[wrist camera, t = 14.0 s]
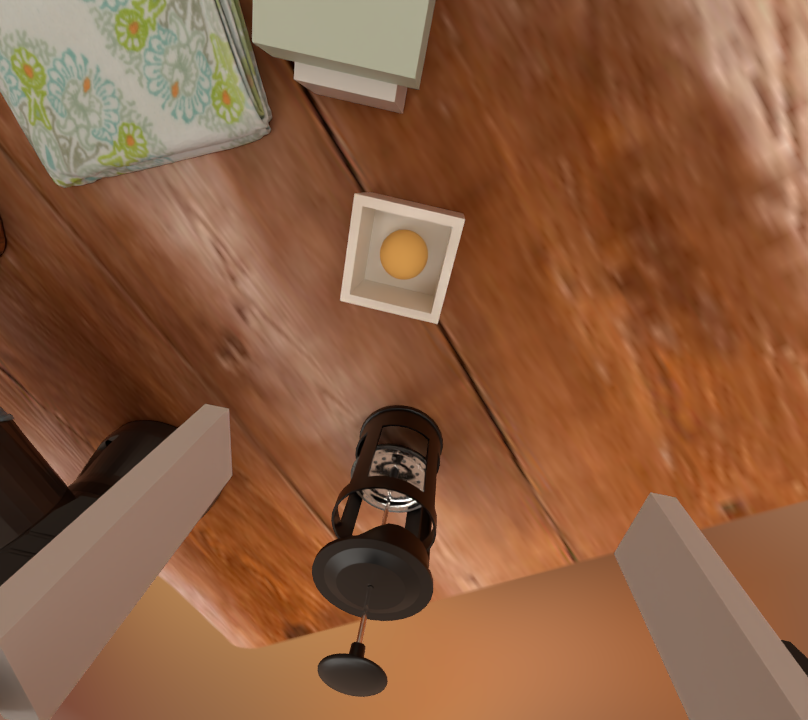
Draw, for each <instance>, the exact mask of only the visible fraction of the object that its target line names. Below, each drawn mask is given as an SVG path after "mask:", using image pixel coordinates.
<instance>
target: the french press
mask: <svg viewBox="0 0 808 720" xmlns="http://www.w3.org/2000/svg"><path fill="white" fill-rule="evenodd" d="M387 426H400V427H405V428H409V429H412V430H414V431H416V432H418V433H420V434H422V435H423V436H424V437H425V438H427V439H428V447H427V457H426V458H425V457H424V456H423V455H421V454H420V453H418V452H417V451H415V450H413V449H411V448H408V447H406V446H402V445H398V444H379V445H378V442H379V438H380V435H381V432H382V428H383V427H387ZM442 448H443V439H442V435H441V432H440V430H439V428H438V426H437V425H436V423H435V422H434V421H433V420H432V419H431V418H430V417H429V416H428V415H427V414H425V413H423V412H421V411H420V410H417V409H415V408H412V407H407V406H388V407H385V408H382V409H379V410H377V411H376V412H374V413H372V414H371V415H370V416H369V417H368V418H367V419H366V421H365V422H364V424H363V426H362V429H361V431H360V440H359V442H358V445H357V448H356V461H355V462H354V464H353V466H352V469H351V482H350V484H348V485H347V486H346V487H345V488H344V489H343V490H342V491H341V493H340V494H339V496H338V499H337V501H336V504H335V507H334V509H333V512H332V520H331V521H332V527H333V530H334V532H335V534H336V536H337V537H338V539H336V540H334V541H332V542H330V543H328V544H327V545H325V546H324V547H323V548H322V549H321V550H320V551H319V552H318V554H317V555H316V558H315V560H314V563H313V566H312V575H313V580H314V583H315V585H316V587H317V589H318V590H319V591H320V593H321V594H322V595H323V596H324V597H325V598H326V599H327V600H328V601H329V602H330V603H332V604H333V605H335V606H336V607H338V608H339V609H341V610H343V611H345V612H347V613H349V614H352V615H355V616H358V617H361V622H360V628H359V632H358V637H357V641H356V642H354V643H352V644H351V648H350V652H349V654H333V655H329V656H327V657H325V658H323V659H322V660H321V661H320V663H319V665H318V674H319V676H320V678H321V679H322V680H323V681H324V683H325V684H327V685H328V686H329V687H331V688H332V689H334V690H336V691H338V692H341V693H344V694H347V695H351V696H360V697H362V696H363V697H365V696H371V695H375V694H378V693H380V692H381V691H383V690H384V689H385V687H386V685H387V676H386V674H385V672H384V671H383V669H382V668H381V667H380V666H378V665H377V664H376V663H374V662H373V661H371V660H368V659H366V658H364V653H365V646H364V644H362V640H363V635H364V630H365V625H366V621H367V619H370V620H380V621H390V620H391V621H392V620H399V619H404V618H407V617H410V616H413V615H415V614H416V613H418V612H420V611H421V610H422V609H423V608H425V607H426V606H427V604H428V603H429V601H430V600H431V597H432V594H433V578H432V575H431V572H430V570H429V557H430V548H431V546H432V545H433V543H434V541H435V537H436V526H437V515H436V511H435V491H436V475H437V473H438V470H439V466H440V455H441V452H442ZM348 495H349V497H348V500H347V503H346V506H345V509H344V512H343V515H342V518H341V520H340V517H339V514H338V505H339V503H340V502H341V501H342V500H343V499H344V498H346V497H347V496H348ZM362 499H363V500H364V501H366V502H367V503H368V504H370V505H372V506H374V507H376V508H378V509H381V510H384V515H383V520H382V525H381V526H378V527H375V528H373V529H371V530H369V531H367V532H365V533H362V534H360V535H356V536H353V535H352V533H353V529H354V526H355V523H356V519H357V516H358V512H359V509H360V505H361V502H362ZM388 512H398V513H400V512H407V517H406V524H405V528H403V527H401V526H399V525H394V524H389V523H388V524H386V521H387V517H388ZM432 523H433V529H432V531H431V527H432Z"/></svg>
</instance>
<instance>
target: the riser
mask: <svg viewBox="0 0 808 720" xmlns="http://www.w3.org/2000/svg"><path fill="white" fill-rule="evenodd" d="M294 80H296V81H297V82H299V83H300V84H302V85H303V86H305V87H306V88H308V89H309V90H311V91H312V92H314V93H315V94H318V95H323V96H327V97H332V98H336V99H340V100H345V101H349V102H353V103H358V104H362V105H367V106H371V107H375V108H380V109H384V110H389V111H393V112H397V113H402V114H403V110H404V104H405V98H406V93H407V87H405V86H400V85H396V84H391V83H387V82H383V81H378V80H374V79H369V78H365V77H361V76H356V75H352V74H347V73H343V72H338V71H334V70H330V69H325V68H321V67H316V66H312V65H307V64H303V63H299V62H295V67H294Z"/></svg>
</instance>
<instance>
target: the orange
mask: <svg viewBox="0 0 808 720" xmlns="http://www.w3.org/2000/svg"><path fill="white" fill-rule="evenodd" d="M380 260H381V264H382V266H383V268H384V269H385V271H386V272H387V273H388V274H389V275H391V276H392V277H394V278H397V279H401V280H406V279H411V278H414V277H416V276H417V275H419V274H420V273H421V272H422V270H423V269H424V268H425V266H426V263H427V260H428V249H427V246H426V243H425V241H424V240H423V239H422V237H421V236H419V235H418V234H417V233H415V232H413V231H410V230H398V231H395V232H393V233H391V234H390V235H388V236H387V237H386V239H385V240H384V241H383V243H382V246H381V249H380Z"/></svg>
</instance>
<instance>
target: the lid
mask: <svg viewBox="0 0 808 720" xmlns="http://www.w3.org/2000/svg"><path fill="white" fill-rule="evenodd" d="M434 6H435V0H253V18H252V42H253V43H254V44H255V45H257V46H258V47H260V48H261V49H262V50H264V51H265V52H267V53H268V54H270V55H271V56H272V57H277V58H281V59H285V60H290V61H294V62H299V63H303V64H307V65H312V66H316V67H321V68H325V69H330V70H334V71H338V72H343V73H347V74H352V75H356V76H361V77H365V78H369V79H374V80H378V81H383V82H387V83H391V84H396V85H400V86H405V87H409V88H414V89H418V90H419V87H420V82H421V76H422V71H423V65H424V60H425V55H426V49H427V44H428V38H429V33H430V27H431V22H432V17H433V11H434Z"/></svg>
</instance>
